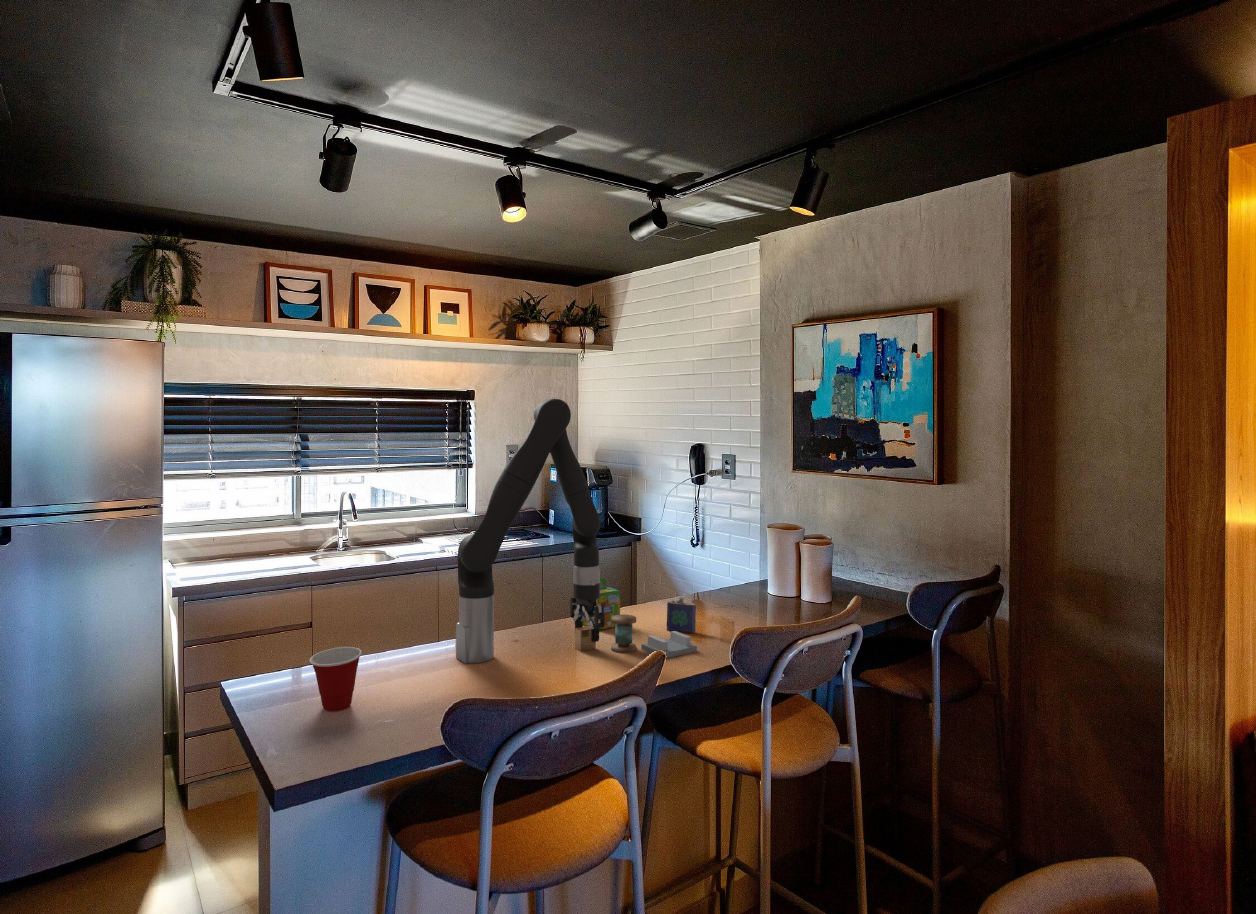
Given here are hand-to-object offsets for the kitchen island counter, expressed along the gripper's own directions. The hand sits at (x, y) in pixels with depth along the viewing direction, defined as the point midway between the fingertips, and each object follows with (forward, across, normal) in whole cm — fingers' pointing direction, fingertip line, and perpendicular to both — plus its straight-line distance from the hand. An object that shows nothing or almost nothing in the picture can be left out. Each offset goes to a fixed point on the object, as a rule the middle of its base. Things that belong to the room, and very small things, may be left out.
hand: (586, 637), depth 209 cm
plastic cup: (+2, +6, -70) cm, 70 cm away
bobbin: (+3, +6, +8) cm, 11 cm away
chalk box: (+4, -18, +16) cm, 25 cm away
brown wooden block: (+3, 0, 0) cm, 3 cm away
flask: (+4, +1, +34) cm, 34 cm away
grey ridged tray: (+4, +14, +18) cm, 23 cm away
